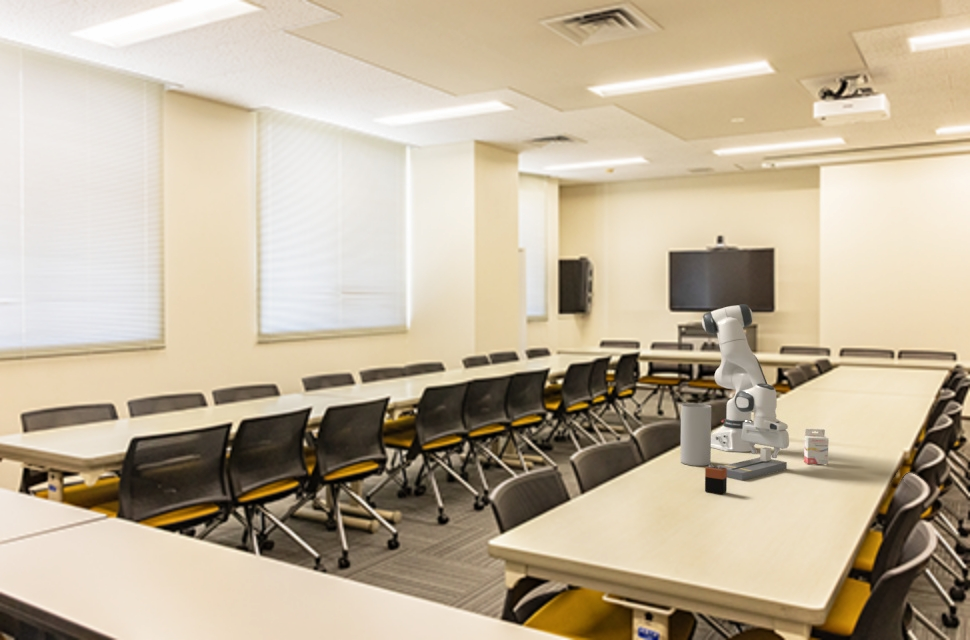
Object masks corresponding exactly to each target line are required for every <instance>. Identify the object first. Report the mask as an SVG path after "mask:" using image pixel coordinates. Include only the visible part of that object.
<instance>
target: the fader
mask: <svg viewBox="0 0 970 640" xmlns="http://www.w3.org/2000/svg"><path fill="white" fill-rule="evenodd" d="M759 452H760V454H759V455H760V460H761V461H763V463H765V462H768V461H770V460H771V459H772V448H771V447H767V446H766V447H765V446H764V447H761V448H760V451H759Z"/></svg>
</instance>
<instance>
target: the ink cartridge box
mask: <svg viewBox="0 0 970 640" xmlns="http://www.w3.org/2000/svg"><path fill="white" fill-rule="evenodd" d="M804 432H805V434H804V448H803V449H804V453H803V455H804V457H803V462H804V463H805V462H806V463H807V464H806V463H805V464H806V465H810V464H828V465H829V441H830V440H829V437H827V436H825V434H826V433H825V432H826V431H825V429H822V428H806V429H805V431H804Z"/></svg>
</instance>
